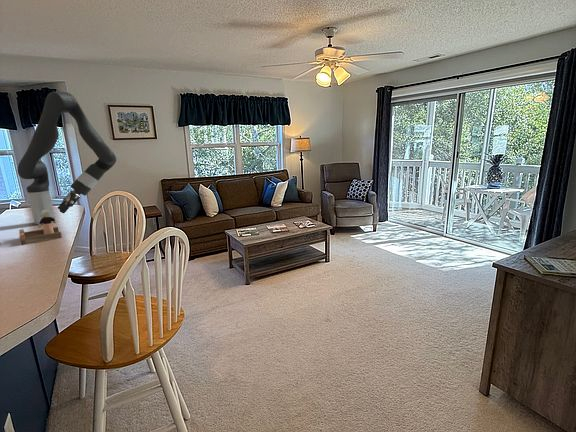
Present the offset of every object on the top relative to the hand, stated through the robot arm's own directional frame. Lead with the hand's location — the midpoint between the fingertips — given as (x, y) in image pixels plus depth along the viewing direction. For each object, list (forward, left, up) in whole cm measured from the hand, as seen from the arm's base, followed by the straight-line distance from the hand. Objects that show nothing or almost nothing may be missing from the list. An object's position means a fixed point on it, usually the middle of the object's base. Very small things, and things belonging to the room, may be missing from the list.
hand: (60, 210), depth 144 cm
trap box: (0, -9, -11) cm, 14 cm away
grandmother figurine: (0, -5, -11) cm, 13 cm away
